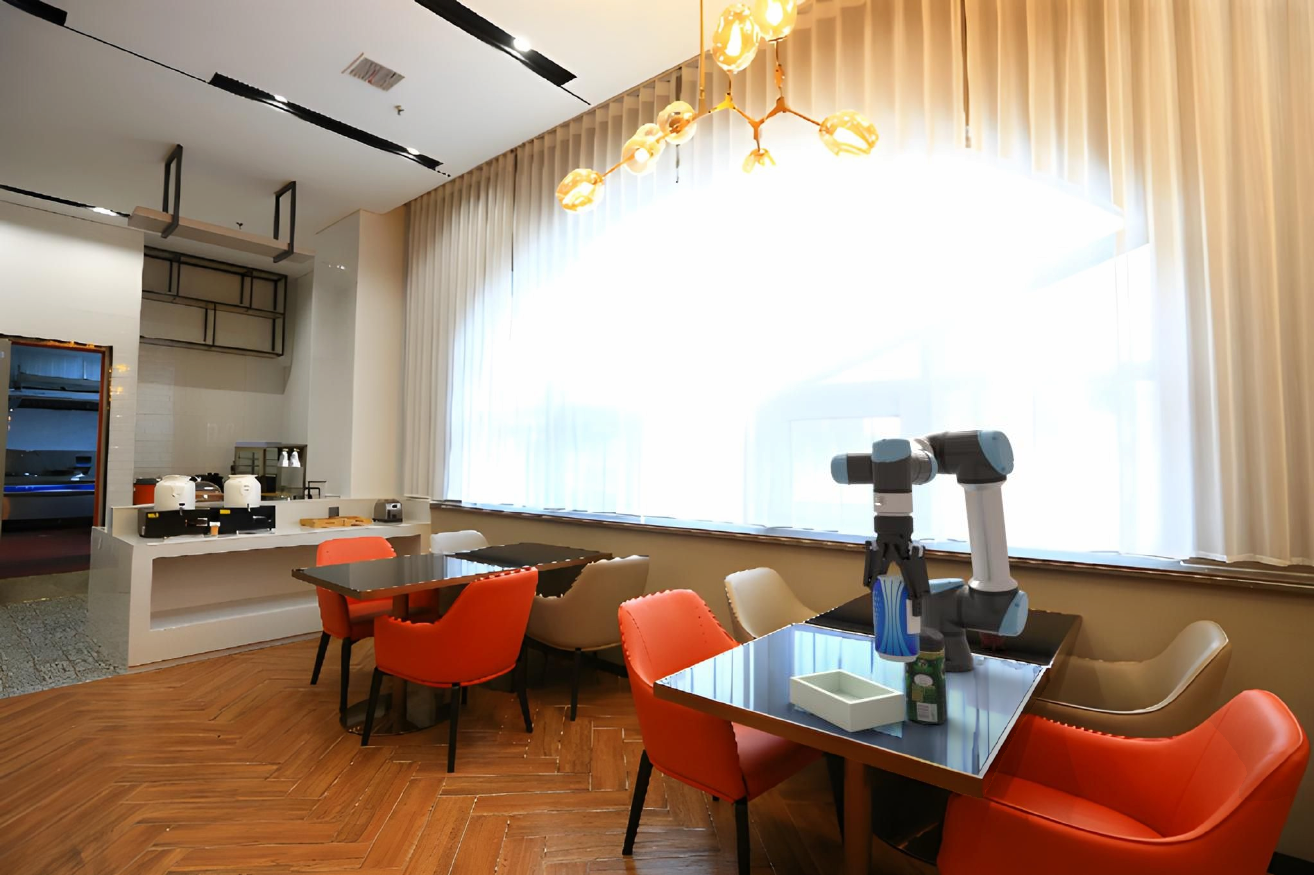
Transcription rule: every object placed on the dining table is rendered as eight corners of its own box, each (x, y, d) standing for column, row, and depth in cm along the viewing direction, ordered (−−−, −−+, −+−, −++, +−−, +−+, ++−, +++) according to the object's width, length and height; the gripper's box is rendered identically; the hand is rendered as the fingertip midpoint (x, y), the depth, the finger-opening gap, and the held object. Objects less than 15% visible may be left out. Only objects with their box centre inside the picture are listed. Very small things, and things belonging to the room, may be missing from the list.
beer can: (916, 666, 121) (913, 581, 122) (870, 659, 125) (868, 578, 126) (922, 655, 128) (920, 575, 129) (879, 649, 132) (877, 572, 133)
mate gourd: (978, 644, 196) (976, 595, 197) (1006, 646, 193) (1005, 597, 194) (981, 650, 189) (980, 599, 190) (1011, 652, 186) (1009, 601, 187)
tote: (840, 692, 150) (840, 669, 151) (904, 720, 133) (904, 693, 133) (789, 702, 144) (789, 677, 144) (850, 732, 126) (849, 704, 127)
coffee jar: (910, 707, 141) (908, 622, 142) (949, 714, 137) (946, 626, 138) (902, 721, 133) (900, 631, 134) (943, 728, 128) (940, 636, 130)
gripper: (842, 512, 136) (845, 619, 134) (921, 517, 117) (925, 642, 116) (869, 511, 139) (871, 616, 138) (949, 516, 120) (954, 637, 119)
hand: (896, 628), depth 127 cm, fingers closed on beer can, 8 cm apart
